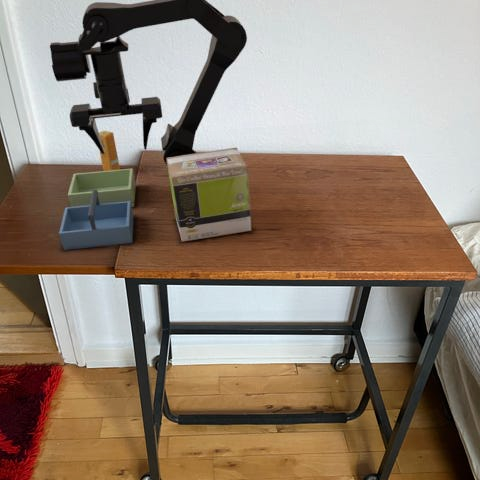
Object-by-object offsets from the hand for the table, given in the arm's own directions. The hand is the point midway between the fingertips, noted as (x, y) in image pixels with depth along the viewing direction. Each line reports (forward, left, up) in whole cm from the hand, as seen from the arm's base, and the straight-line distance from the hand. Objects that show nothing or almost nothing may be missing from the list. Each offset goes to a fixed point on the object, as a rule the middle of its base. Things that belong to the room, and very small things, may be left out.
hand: (124, 151), depth 117 cm
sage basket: (+7, -2, -12) cm, 14 cm away
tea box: (-17, +16, -12) cm, 26 cm away
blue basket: (+7, +13, -12) cm, 19 cm away
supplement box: (+6, -17, -12) cm, 22 cm away
